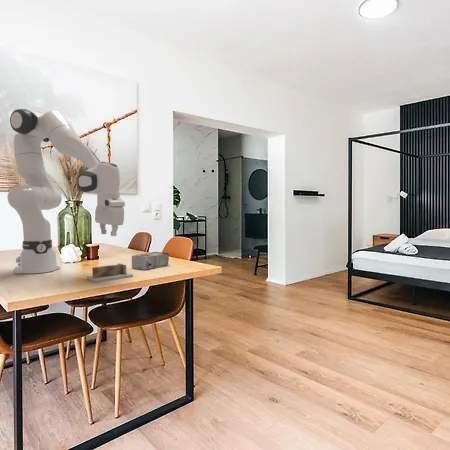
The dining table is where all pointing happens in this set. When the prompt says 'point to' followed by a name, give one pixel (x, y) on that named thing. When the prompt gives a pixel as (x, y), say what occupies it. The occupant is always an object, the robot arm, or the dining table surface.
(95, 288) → the dining table surface
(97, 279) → the mat
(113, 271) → the brown wooden block
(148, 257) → the coffee box
